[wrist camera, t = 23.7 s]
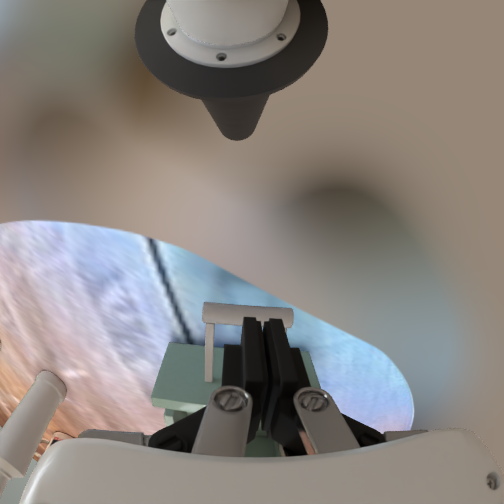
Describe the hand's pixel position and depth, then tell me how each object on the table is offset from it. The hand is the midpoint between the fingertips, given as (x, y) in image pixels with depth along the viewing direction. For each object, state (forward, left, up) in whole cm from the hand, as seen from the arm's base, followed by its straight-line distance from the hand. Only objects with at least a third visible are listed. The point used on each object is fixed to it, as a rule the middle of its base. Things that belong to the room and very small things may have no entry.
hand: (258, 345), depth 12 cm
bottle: (+22, -26, -12) cm, 36 cm away
